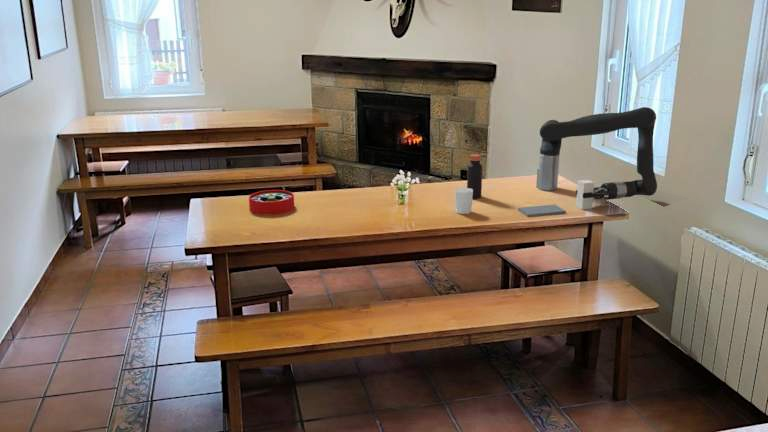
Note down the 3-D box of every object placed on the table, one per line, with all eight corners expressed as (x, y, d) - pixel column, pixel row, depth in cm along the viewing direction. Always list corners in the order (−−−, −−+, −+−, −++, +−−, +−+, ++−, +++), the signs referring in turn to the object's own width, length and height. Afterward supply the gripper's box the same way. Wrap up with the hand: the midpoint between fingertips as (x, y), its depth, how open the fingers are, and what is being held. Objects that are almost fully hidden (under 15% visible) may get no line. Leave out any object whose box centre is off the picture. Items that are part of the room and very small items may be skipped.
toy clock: (279, 204, 297) (240, 199, 304) (280, 217, 299) (241, 212, 306) (301, 192, 315) (263, 188, 322) (302, 204, 317) (264, 200, 324)
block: (581, 209, 303) (584, 183, 300) (575, 206, 308) (578, 180, 304) (592, 208, 305) (594, 182, 301) (585, 205, 309) (588, 179, 306)
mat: (527, 216, 295) (527, 214, 295) (517, 209, 304) (517, 207, 304) (565, 213, 299) (565, 210, 299) (554, 206, 308) (555, 204, 308)
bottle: (480, 199, 321) (482, 157, 314) (466, 198, 322) (467, 156, 316) (481, 195, 327) (483, 153, 321) (467, 194, 328) (468, 153, 322)
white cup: (474, 210, 305) (474, 188, 302) (470, 215, 298) (470, 193, 294) (456, 208, 307) (457, 187, 304) (452, 213, 300) (452, 191, 297)
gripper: (605, 178, 313) (571, 181, 309) (623, 186, 300) (589, 190, 296) (603, 194, 316) (570, 197, 311) (622, 203, 303) (587, 206, 298)
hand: (579, 194), depth 304 cm, fingers closed on block, 5 cm apart
